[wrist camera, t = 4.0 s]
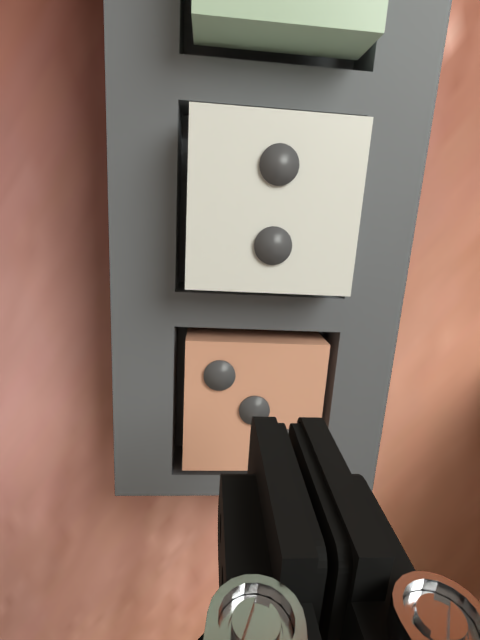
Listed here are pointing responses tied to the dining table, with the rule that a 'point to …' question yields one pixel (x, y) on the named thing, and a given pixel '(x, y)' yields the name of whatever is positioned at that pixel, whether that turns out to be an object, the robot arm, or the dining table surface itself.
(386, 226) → the button board
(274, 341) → the button three
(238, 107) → the button two
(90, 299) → the dining table surface
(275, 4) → the button one
